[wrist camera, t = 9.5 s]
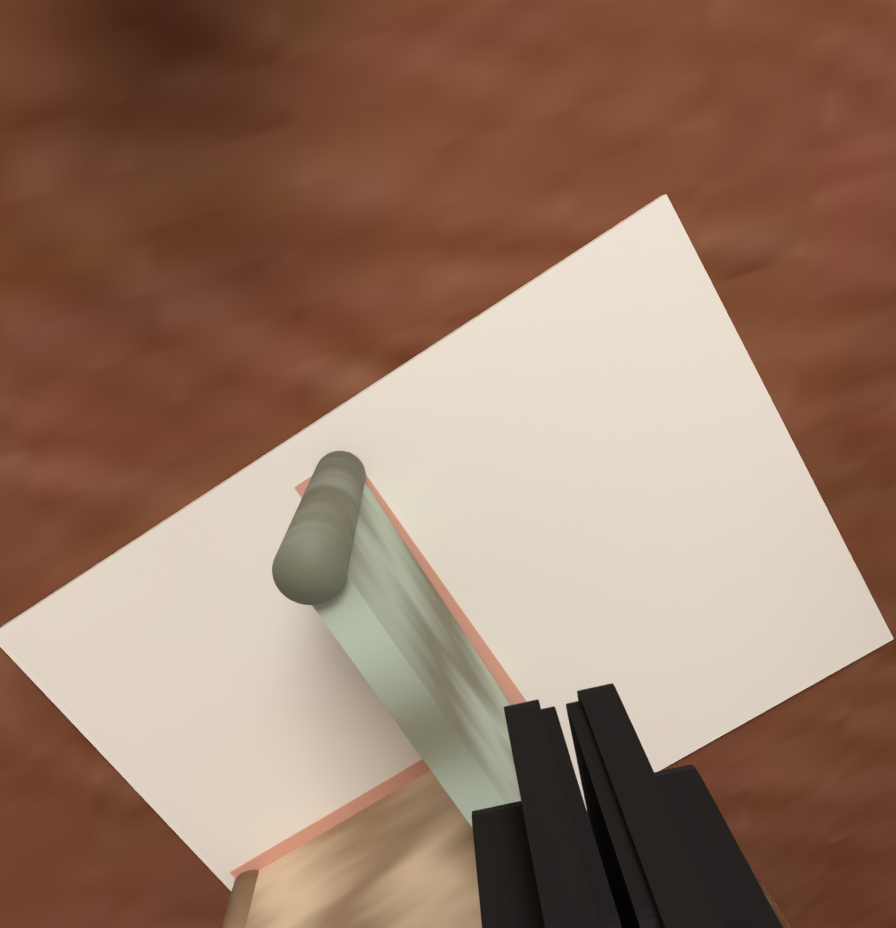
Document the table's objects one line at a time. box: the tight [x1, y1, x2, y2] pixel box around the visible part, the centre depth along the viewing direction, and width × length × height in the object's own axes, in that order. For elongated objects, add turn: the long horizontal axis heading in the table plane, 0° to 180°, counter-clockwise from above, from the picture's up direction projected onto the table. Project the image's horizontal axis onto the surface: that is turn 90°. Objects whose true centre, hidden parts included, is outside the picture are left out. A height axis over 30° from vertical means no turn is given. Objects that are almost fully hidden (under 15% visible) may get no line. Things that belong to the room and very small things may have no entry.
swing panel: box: [272, 451, 521, 827], centre depth 23 cm, size 12×2×8 cm, turn 30°
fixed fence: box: [221, 770, 482, 928], centre depth 25 cm, size 15×2×9 cm, turn 123°
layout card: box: [0, 194, 893, 892], centre depth 28 cm, size 29×20×1 cm
